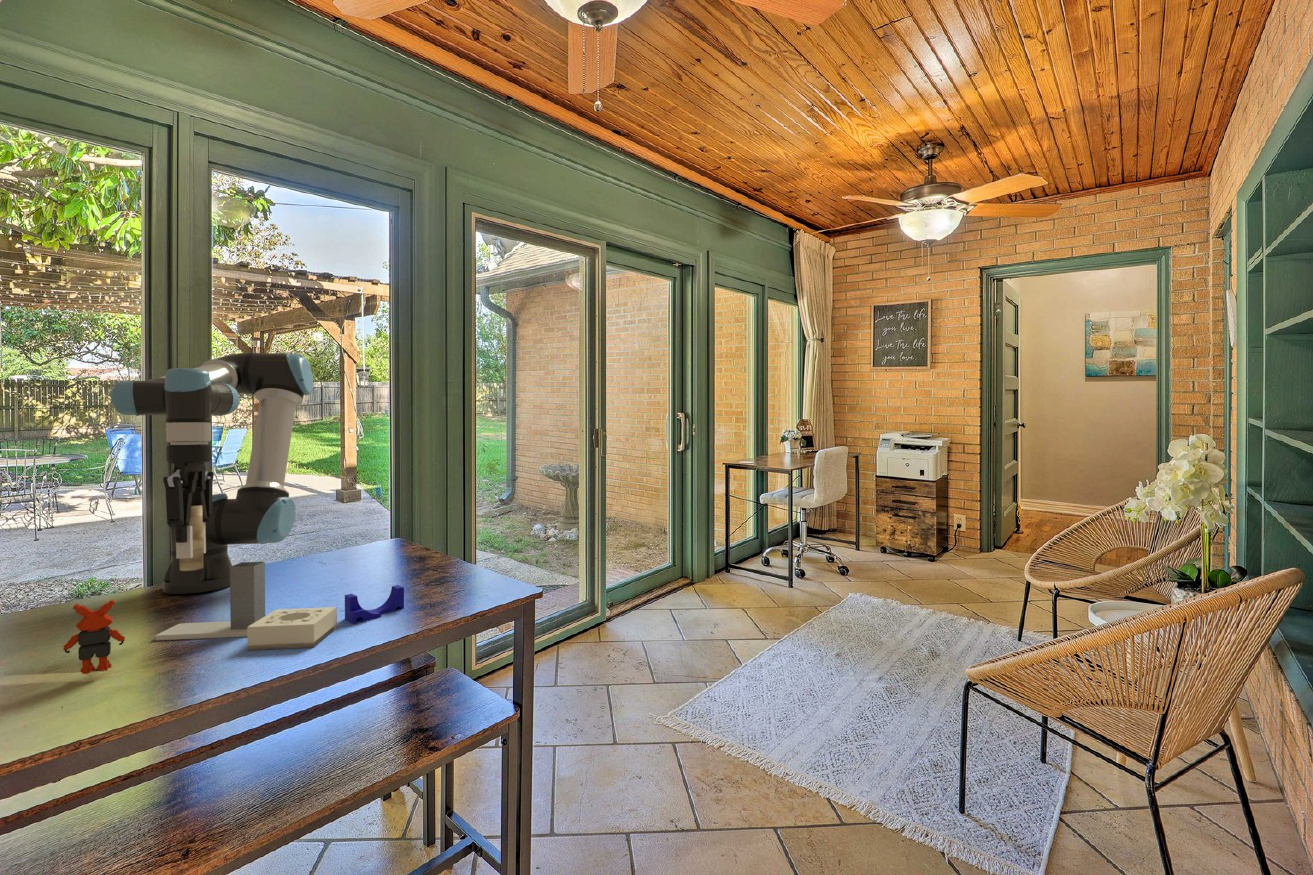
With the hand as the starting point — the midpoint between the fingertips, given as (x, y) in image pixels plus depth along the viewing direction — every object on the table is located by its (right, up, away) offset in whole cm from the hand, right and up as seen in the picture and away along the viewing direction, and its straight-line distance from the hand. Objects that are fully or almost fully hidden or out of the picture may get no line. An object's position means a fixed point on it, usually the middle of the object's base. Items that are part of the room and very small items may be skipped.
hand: (191, 555), depth 131 cm
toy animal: (-2, -17, -20) cm, 26 cm away
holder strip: (+6, -16, +1) cm, 17 cm away
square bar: (+11, -15, +1) cm, 19 cm away
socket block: (+24, -16, -4) cm, 29 cm away
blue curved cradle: (+34, -16, +10) cm, 39 cm away
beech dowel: (0, -3, 0) cm, 3 cm away
